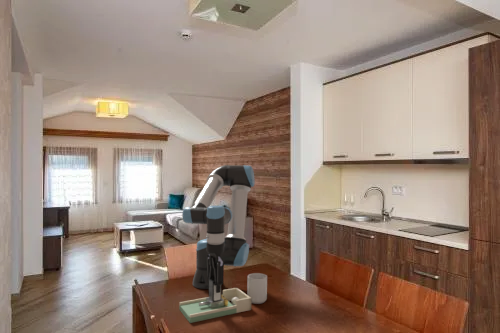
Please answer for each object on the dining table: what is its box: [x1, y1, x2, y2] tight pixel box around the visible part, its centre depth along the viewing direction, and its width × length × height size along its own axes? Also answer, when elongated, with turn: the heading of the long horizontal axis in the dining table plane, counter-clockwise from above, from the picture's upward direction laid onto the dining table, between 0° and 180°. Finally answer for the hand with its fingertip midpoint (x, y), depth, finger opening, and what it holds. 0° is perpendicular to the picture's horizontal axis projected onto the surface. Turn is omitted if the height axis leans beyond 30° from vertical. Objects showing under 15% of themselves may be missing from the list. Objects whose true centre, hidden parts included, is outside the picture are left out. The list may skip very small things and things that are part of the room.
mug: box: [246, 272, 268, 305], centre depth 154 cm, size 12×9×11 cm
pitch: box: [178, 287, 252, 324], centre depth 142 cm, size 14×27×5 cm, turn 118°
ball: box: [230, 297, 239, 306], centre depth 147 cm, size 4×4×4 cm
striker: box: [199, 279, 228, 308], centre depth 141 cm, size 8×11×10 cm
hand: (214, 297), depth 142 cm, fingers closed on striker, 4 cm apart
